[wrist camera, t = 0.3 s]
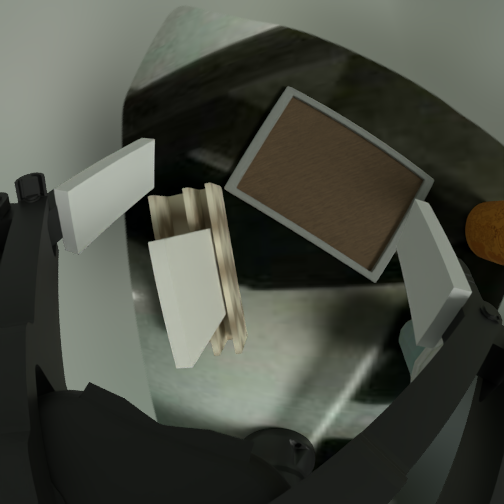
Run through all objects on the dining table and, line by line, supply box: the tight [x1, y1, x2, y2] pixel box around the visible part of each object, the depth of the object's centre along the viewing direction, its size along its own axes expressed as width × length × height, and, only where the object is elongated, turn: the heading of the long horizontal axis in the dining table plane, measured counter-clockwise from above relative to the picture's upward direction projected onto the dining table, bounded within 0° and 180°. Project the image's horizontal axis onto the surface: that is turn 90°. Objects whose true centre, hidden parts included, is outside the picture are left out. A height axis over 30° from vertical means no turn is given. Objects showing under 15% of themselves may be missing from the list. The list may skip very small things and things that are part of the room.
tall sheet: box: [148, 228, 227, 368], centre depth 39 cm, size 12×2×22 cm, turn 10°
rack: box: [148, 183, 248, 356], centre depth 47 cm, size 24×9×7 cm, turn 10°
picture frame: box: [224, 86, 434, 283], centre depth 47 cm, size 19×2×30 cm
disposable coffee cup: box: [399, 319, 444, 382], centre depth 41 cm, size 11×11×15 cm
